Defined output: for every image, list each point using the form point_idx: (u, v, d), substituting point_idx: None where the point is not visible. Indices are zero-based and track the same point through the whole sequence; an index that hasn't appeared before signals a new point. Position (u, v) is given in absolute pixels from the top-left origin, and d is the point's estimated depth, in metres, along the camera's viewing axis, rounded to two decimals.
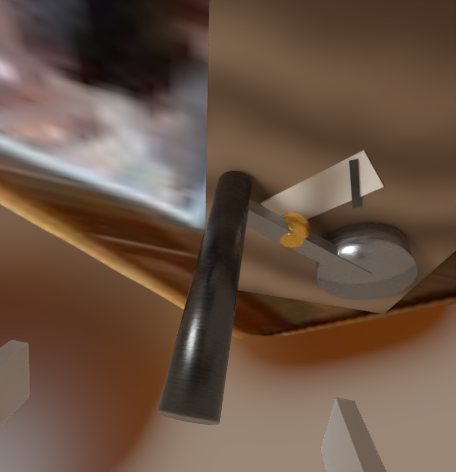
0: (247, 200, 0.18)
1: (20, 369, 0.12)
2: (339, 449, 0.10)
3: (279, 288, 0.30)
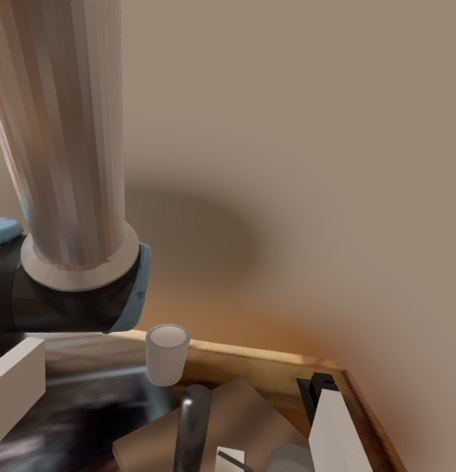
0: None
1: (37, 365, 0.12)
2: (324, 438, 0.11)
3: None
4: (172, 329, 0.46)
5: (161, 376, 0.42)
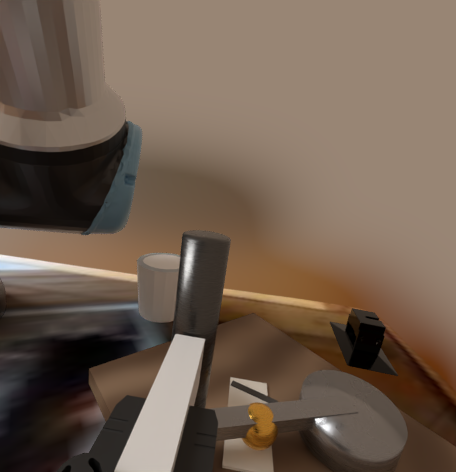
0: None
1: None
2: None
3: None
4: (170, 257, 0.37)
5: (156, 308, 0.34)
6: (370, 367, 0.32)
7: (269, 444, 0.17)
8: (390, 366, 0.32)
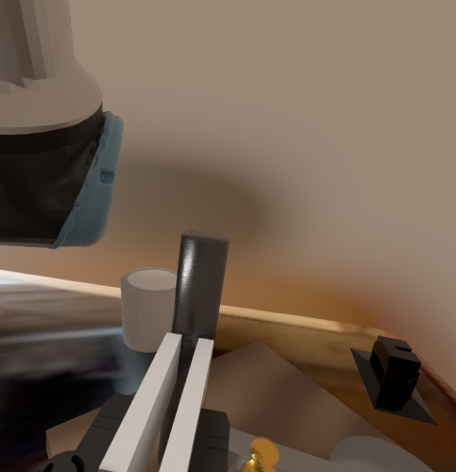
0: None
1: (177, 357, 0.14)
2: None
3: None
4: (161, 273, 0.32)
5: (143, 336, 0.28)
6: (403, 413, 0.26)
7: None
8: (427, 411, 0.26)
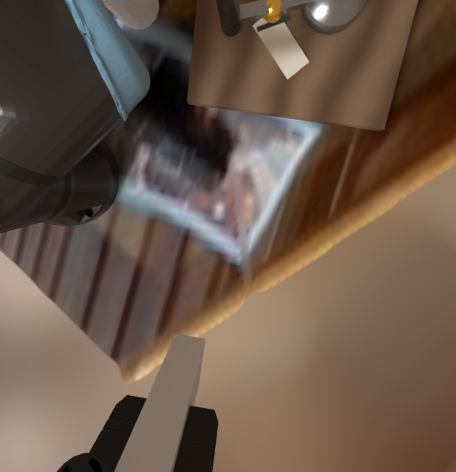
0: None
1: None
2: None
3: (388, 57, 0.35)
4: None
5: (148, 16, 0.35)
6: None
7: (277, 20, 0.33)
8: None
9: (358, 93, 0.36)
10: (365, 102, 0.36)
